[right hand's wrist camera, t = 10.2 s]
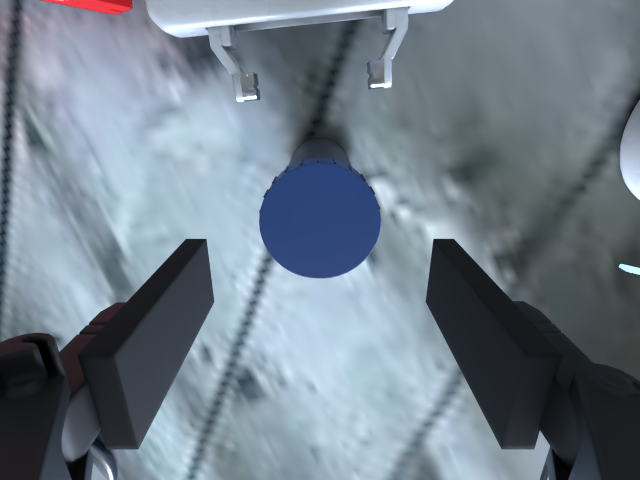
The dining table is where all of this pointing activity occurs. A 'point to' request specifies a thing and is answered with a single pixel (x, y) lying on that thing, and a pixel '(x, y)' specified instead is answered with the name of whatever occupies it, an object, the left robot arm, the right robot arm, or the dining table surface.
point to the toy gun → (98, 5)
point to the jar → (319, 151)
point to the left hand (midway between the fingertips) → (313, 94)
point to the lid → (319, 218)
